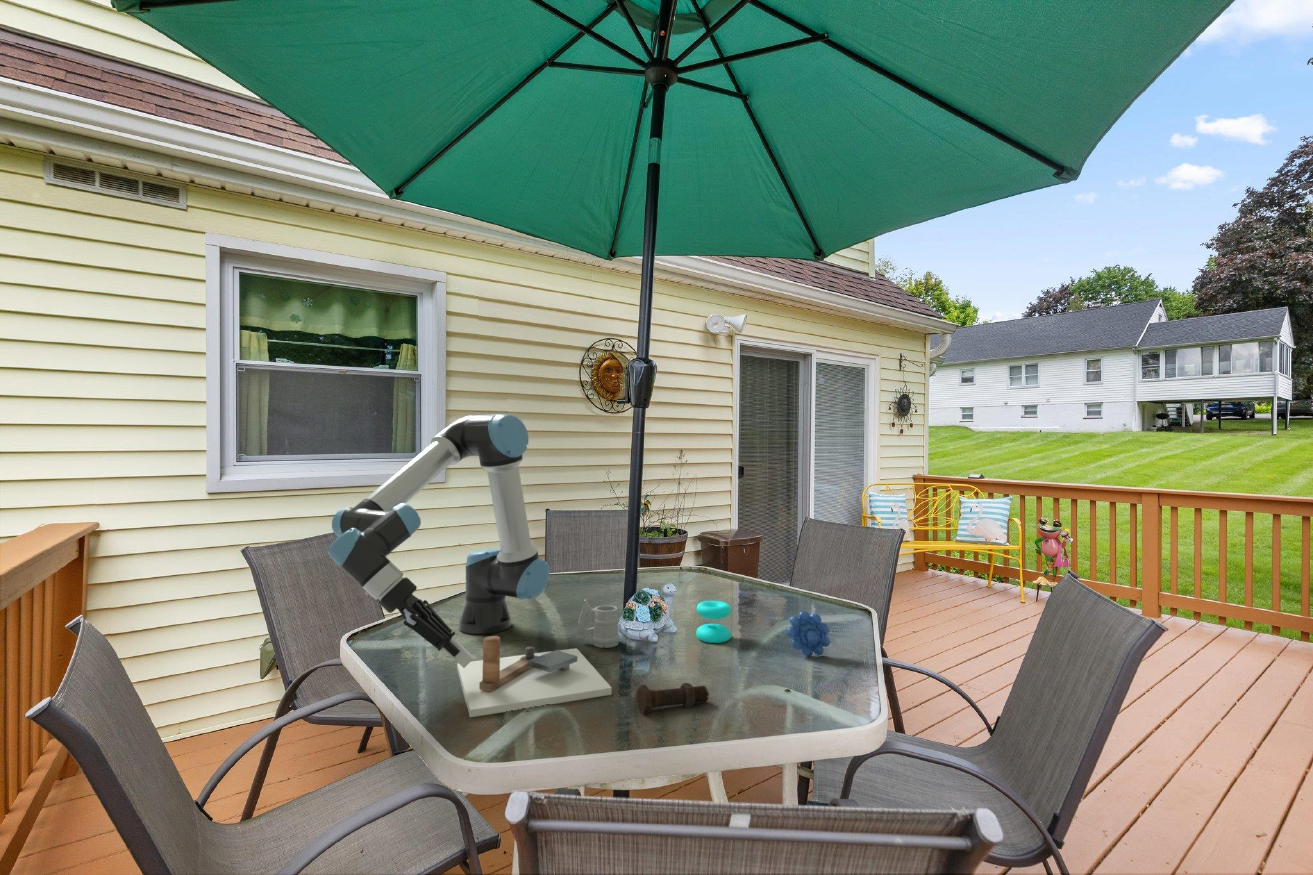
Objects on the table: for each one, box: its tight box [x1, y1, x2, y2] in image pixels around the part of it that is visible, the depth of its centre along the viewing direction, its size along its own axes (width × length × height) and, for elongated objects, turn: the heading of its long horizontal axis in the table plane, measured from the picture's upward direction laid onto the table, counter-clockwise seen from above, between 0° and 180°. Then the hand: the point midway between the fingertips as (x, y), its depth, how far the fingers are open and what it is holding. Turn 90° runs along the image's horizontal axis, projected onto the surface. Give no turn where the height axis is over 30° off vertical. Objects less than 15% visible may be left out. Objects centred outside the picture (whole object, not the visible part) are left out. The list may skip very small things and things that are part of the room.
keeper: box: [528, 649, 577, 672], centre depth 139 cm, size 9×7×5 cm
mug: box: [577, 599, 621, 649], centre depth 166 cm, size 8×12×12 cm, turn 86°
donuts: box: [695, 600, 732, 644], centre depth 171 cm, size 10×10×10 cm
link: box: [479, 635, 539, 692], centre depth 137 cm, size 19×4×10 cm, turn 158°
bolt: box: [636, 682, 710, 715], centre depth 126 cm, size 6×5×15 cm
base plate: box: [456, 647, 613, 718], centre depth 138 cm, size 28×30×2 cm
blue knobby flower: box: [786, 610, 831, 657], centre depth 156 cm, size 12×7×12 cm, turn 95°
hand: (469, 662), depth 132 cm, fingers closed
